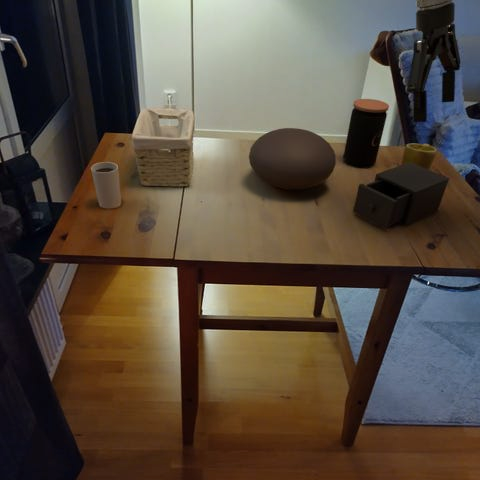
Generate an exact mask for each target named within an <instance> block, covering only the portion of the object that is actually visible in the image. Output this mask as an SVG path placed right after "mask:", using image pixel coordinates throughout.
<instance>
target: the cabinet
mask: <svg viewBox="0 0 480 480" xmlns="http://www.w3.org/2000/svg"><path fill="white" fill-rule="evenodd" d="M380 179H382V180H384V181H386V182H388V183H390V184H392V185H395V186H397V187H399V188H401V189H403V190H405V191H408V192H410V193H412V197H411V200H410V203H409V206H408V210H407V213H406V216H405V219H403V220H401V221H399V222H397V224H399V225H401V226H404V227H406V226H409V225H411V224H413V223H415V222H418V221H420V220H422V219H425V218H426V217H428V216H430V215H433V214H435V213H437V212H438V211H439V209H440V205H441V203H442V200H443V198H444V194H445V192H446V189H447V186H448V183H449V180H450V178H449V177H447V176H445V175H442V174H439V173H437V172H435V171H432V170H431V169H430V170H428V169H425V168H423V167H420V166H418V165H416V164H413V163H411V162H409V163H406V164H403V165H402V164H401V165H398V166H395V167H392V168H389V169H387V170H384V171H381V172H378V173H376V174H375V177H374V181H377V180H380Z"/></svg>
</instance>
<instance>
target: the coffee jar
mask: <svg viewBox="0 0 480 480" xmlns="http://www.w3.org/2000/svg"><path fill="white" fill-rule="evenodd" d="M352 106H353V108H352V111H351V113H350V119H349V123H348V124H349V125H348V130H347V135H346V141H345V146H344V152H343V160H344V162H345V163H346V164H347V165H349V166H350V167H353V168H362V169H363V168H364V169H365V168H366V169H367V168H370V167H373V165H375V163H376V162H377V160H378V159H377V158H378V155H379V150H380V146H381V143H382V142H381V141H382V137H383V133H384V129H385V125H386V121H387V117H388V112H387V111H389V109H390V105H389V104H388V103H387V102H385V101H382V100H380V99H373V98H359V99H356V100H354V101H353V105H352Z"/></svg>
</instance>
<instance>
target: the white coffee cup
mask: <svg viewBox="0 0 480 480" xmlns="http://www.w3.org/2000/svg"><path fill="white" fill-rule="evenodd" d="M90 170H91V174H92V179H93V184H94V189H95V192H96V193H95V194H96V196H97V202H98V205H99V207H100V208H103V209H107V210H108V209H111V210H112V209H116V208H118V207H120V206H121V205H122V197H121V186H120V184H121V183H120V174H119V173H120V172H119V165H117V164H116V163H114V162H111V161H102V162H97V163H94V164H92V165H91V166H90Z"/></svg>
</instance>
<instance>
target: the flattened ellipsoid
mask: <svg viewBox="0 0 480 480" xmlns="http://www.w3.org/2000/svg"><path fill="white" fill-rule="evenodd" d="M248 161H249V165H250V167H251V169H252V171H253V173H254V174H255V175H256V176H257V177H258V178H259V179H260V180H262V181H264V182H265V183H267V184H268V185H271V186H273V187H277V188H280V189H285V190H305V189H310V188H312V187H316V186H318V185H320V184H322V183H323V182H324V181H326V180H327V179H328V178H330V177H331V175H332V174H333V172H334V171H335V168H336V164H337V157H336V153H335V150H334V149H333V147H332V145H331V144H330V142H328V141H327V140H326V139H325V138H324V137H322V136H321V135H319V134H317V133H315V132H313V131H310V130H308V129H302V128H298V127H297V128H296V127H294V128H293V127H283V128H278V129H273V130H270V131H268V132H266V133H264V134H263V135H261V136H259V137H258V138H257V139H256V140H255V141H254V143H253V144H252V145H251V147H250V150H249V154H248Z"/></svg>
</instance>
